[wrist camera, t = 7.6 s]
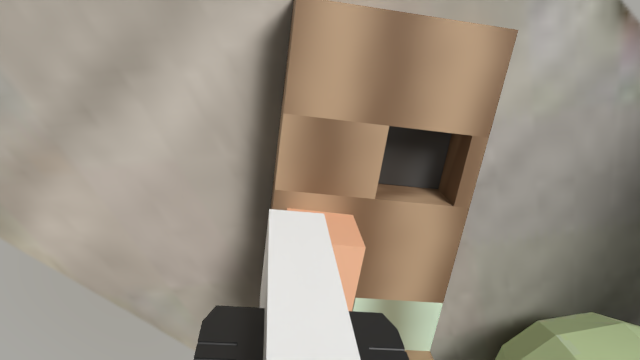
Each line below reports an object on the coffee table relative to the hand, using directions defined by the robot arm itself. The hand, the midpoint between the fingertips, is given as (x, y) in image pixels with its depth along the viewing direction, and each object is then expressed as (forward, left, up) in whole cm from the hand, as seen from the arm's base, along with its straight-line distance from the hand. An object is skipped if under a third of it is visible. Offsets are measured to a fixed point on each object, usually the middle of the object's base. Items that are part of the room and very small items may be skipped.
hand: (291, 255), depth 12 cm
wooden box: (-6, +4, -16) cm, 18 cm away
